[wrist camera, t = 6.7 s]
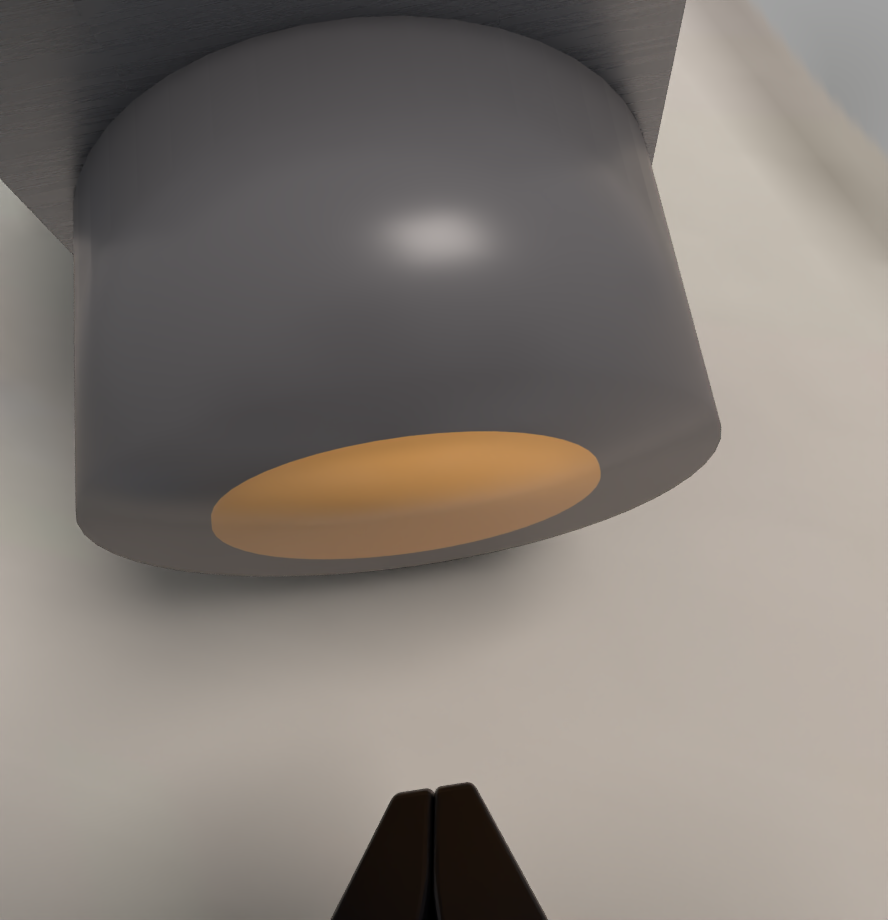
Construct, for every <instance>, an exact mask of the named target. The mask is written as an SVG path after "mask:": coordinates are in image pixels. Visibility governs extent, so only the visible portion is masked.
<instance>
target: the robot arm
mask: <svg viewBox="0 0 888 920" xmlns="http://www.w3.org/2000/svg"><path fill="white" fill-rule="evenodd" d="M331 920H548V919H547V917H546V915H545V913H544V911H543V910H542V908H541V906H540V904H539V902H538V900H537V899H536V897H535V895H534V893H533V891H532V889H531V888H530V886H529V884H528V882H527V880H526V878H525V876H524V875H523V873H522V871H521V869H520V867H519V865H518V864H517V862H516V860H515V858H514V856H513V854H512V853H511V851H510V849H509V847H508V845H507V843H506V842H505V840H504V838H503V836H502V834H501V832H500V831H499V829H498V827H497V825H496V823H495V821H494V819H493V818H492V816H491V814H490V812H489V810H488V808H487V807H486V805H485V803H484V801H483V799H482V797H481V796H480V794H479V792H478V790H477V788H476V787H475V786H474V785H473V784H472V783H470V782H466V783H459V784H453V785H446V786H440V787H438V788H437V789H436V791H435V793H434V792H433V791H432V790H430V789H427V788H426V789H420V790H413V791H406V792H400V793H397V794H396V795H395V796H394V797H393V798H392V800H391V801H390V803H389V805H388V807H387V809H386V811H385V813H384V815H383V817H382V819H381V821H380V823H379V825H378V827H377V829H376V831H375V833H374V835H373V837H372V839H371V841H370V843H369V845H368V847H367V849H366V851H365V853H364V855H363V857H362V859H361V861H360V863H359V865H358V867H357V868H356V870H355V872H354V874H353V876H352V878H351V880H350V882H349V884H348V886H347V888H346V890H345V892H344V894H343V896H342V898H341V900H340V902H339V904H338V906H337V908H336V910H335V912H334V914H333V916H332V918H331Z"/></svg>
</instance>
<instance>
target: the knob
mask: <svg viewBox="0 0 888 920" xmlns="http://www.w3.org/2000/svg"><path fill="white" fill-rule="evenodd" d="M73 250H74V373H75V496H76V518H77V523H78V525H79V527H80V528H81V530H82V531H83V533H84V535H86V536H87V537H88V538H89V539H90V540H92V541H93V542H94V543H95V544H96V545H98V546H100V547H102V548H104V549H106V550H108V551H110V552H112V553H114V554H116V555H119V556H122V557H125V558H128V559H130V560H133V561H137V562H141V563H145V564H149V565H153V566H157V567H163V568H169V569H174V570H180V571H188V572H197V573H205V574H218V575H233V576H312V575H331V574H346V573H358V572H368V571H378V570H387V569H395V568H403V567H411V566H418V565H424V564H431V563H438V562H444V561H449V560H455V559H460V558H466V557H471V556H476V555H481V554H486V553H490V552H495V551H500V550H504V549H508V548H512V547H517V546H521V545H525V544H529V543H533V542H536V541H540V540H544V539H547V538H551V537H555V536H558V535H561V534H564V533H568V532H571V531H574V530H577V529H581V528H583V527H586V526H589V525H592V524H595V523H598V522H600V521H603V520H606V519H609V518H611V517H614V516H616V515H619V514H621V513H624V512H626V511H629V510H631V509H633V508H635V507H637V506H639V505H642V504H644V503H646V502H648V501H650V500H652V499H654V498H656V497H658V496H660V495H662V494H663V493H665V492H667V491H669V490H671V489H672V488H674V487H675V486H677V485H678V484H680V483H681V482H683V481H684V480H686V479H687V478H689V477H690V476H692V475H693V474H694V473H695V472H696V471H697V470H699V469H700V468H701V467H702V466H703V465H704V464H705V463H706V462H707V461H708V460H709V458H710V457H711V456H712V455H713V453H714V452H715V450H716V448H717V446H718V444H719V442H720V439H721V424H720V420H719V416H718V412H717V409H716V405H715V401H714V397H713V394H712V390H711V386H710V382H709V379H708V375H707V371H706V368H705V364H704V360H703V356H702V353H701V349H700V345H699V341H698V338H697V334H696V330H695V326H694V323H693V319H692V315H691V312H690V308H689V304H688V300H687V297H686V293H685V289H684V285H683V282H682V278H681V274H680V270H679V267H678V263H677V259H676V256H675V252H674V248H673V244H672V241H671V237H670V233H669V229H668V226H667V222H666V218H665V214H664V211H663V207H662V203H661V200H660V196H659V192H658V188H657V185H656V181H655V177H654V173H653V170H652V166H651V162H650V158H649V155H648V151H647V147H646V144H645V141H644V138H643V136H642V133H641V130H640V127H639V125H638V122H637V120H636V119H635V117H634V116H633V114H632V113H631V111H630V109H629V108H628V106H627V105H626V103H625V102H624V100H623V99H622V98H621V97H620V96H619V95H618V94H617V93H616V92H615V91H614V90H613V89H612V88H611V87H610V85H609V84H608V83H607V82H606V81H605V80H604V79H603V78H602V77H600V76H599V75H597V74H596V73H594V72H593V71H592V70H590V69H589V68H587V67H586V66H585V65H583V64H582V63H580V62H579V61H578V60H576V59H575V58H573V57H571V56H569V55H567V54H565V53H563V52H561V51H559V50H557V49H554V48H552V47H550V46H548V45H546V44H544V43H542V42H540V41H537V40H534V39H531V38H528V37H525V36H522V35H519V34H516V33H513V32H510V31H507V30H504V29H501V28H496V27H491V26H486V25H481V24H476V23H470V22H465V21H460V20H455V19H443V18H429V17H416V16H380V17H353V18H346V19H339V20H332V21H325V22H318V23H311V24H304V25H299V26H295V27H291V28H287V29H283V30H279V31H276V32H272V33H268V34H264V35H260V36H256V37H252V38H250V39H247V40H244V41H242V42H239V43H237V44H234V45H231V46H229V47H226V48H223V49H221V50H218V51H216V52H213V53H210V54H208V55H206V56H204V57H202V58H200V59H198V60H196V61H194V62H192V63H191V64H189V65H187V66H185V67H183V68H181V69H179V70H177V71H175V72H174V73H172V74H170V75H168V76H166V77H165V78H164V79H162V80H161V81H159V82H158V83H157V84H155V85H154V86H152V87H151V88H150V89H148V90H147V91H145V92H144V93H143V94H141V95H140V96H139V97H137V98H136V99H134V100H133V101H132V102H131V103H130V104H129V105H128V106H127V107H126V108H125V109H124V110H123V111H122V112H121V113H120V114H119V115H118V116H117V117H116V118H115V119H114V120H113V121H112V122H111V123H110V124H109V125H108V126H107V128H106V129H105V130H104V132H103V133H102V135H101V136H100V138H99V139H98V140H97V142H96V143H95V145H94V146H93V147H92V149H91V150H90V152H89V154H88V156H87V159H86V161H85V163H84V165H83V168H82V170H81V172H80V175H79V177H78V181H77V186H76V191H75V197H74V202H73Z"/></svg>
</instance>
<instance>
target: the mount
mask: <svg viewBox="0 0 888 920" xmlns="http://www.w3.org/2000/svg"><path fill="white" fill-rule="evenodd" d="M685 3H686V0H0V179H1V180H2V181H3V182H4V183H5V184H6V185H7V186H8V187H9V188H10V189H11V190H12V191H13V192H14V194H15V195H16V196H17V197H18V198H19V199H20V200H21V201H22V202H23V203H24V204H25V205H26V206H27V207H28V208H29V209H30V210H31V211H32V212H33V213H34V214H35V215H36V216H37V218H38V219H39V220H40V221H41V222H42V223H43V224H44V225H45V226H46V227H47V228H48V229H49V230H50V231H51V232H52V233H53V234H54V235H55V236H56V237H57V238H58V239H59V240H60V242H61V243H62V244H63V245H64V246H65V247H66V248H67V249H68V250H69V251H70V252H71V253H72V254H73V255H74V250H73V202H74V197H75V191H76V186H77V181H78V177H79V175H80V172H81V170H82V168H83V165H84V163H85V161H86V159H87V156H88V154H89V152H90V150H91V149H92V147H93V146H94V145H95V143H96V142H97V140H98V139H99V138H100V136H101V135H102V133H103V132H104V130H105V129H106V128H107V126H108V125H109V124H110V123H111V122H112V121H113V120H114V119H115V118H116V117H117V116H118V115H119V114H120V113H121V112H122V111H123V110H124V109H125V108H126V107H127V106H128V105H129V104H130V103H131V102H132V101H133V100H134V99H136V98H137V97H139V96H140V95H141V94H143V93H144V92H145V91H147V90H148V89H150V88H151V87H152V86H154V85H155V84H157V83H158V82H159V81H161V80H162V79H164V78H165V77H166V76H168V75H170V74H172V73H174V72H175V71H177V70H179V69H181V68H183V67H185V66H187V65H189V64H191V63H192V62H194V61H196V60H198V59H200V58H202V57H204V56H206V55H208V54H210V53H213V52H216V51H218V50H221V49H223V48H226V47H229V46H231V45H234V44H237V43H239V42H242V41H244V40H247V39H250V38H252V37H256V36H260V35H264V34H268V33H272V32H276V31H279V30H283V29H287V28H291V27H295V26H299V25H304V24H311V23H318V22H325V21H332V20H339V19H346V18H353V17H380V16H416V17H429V18H443V19H455V20H460V21H465V22H470V23H476V24H481V25H486V26H491V27H496V28H501V29H504V30H507V31H510V32H513V33H516V34H519V35H522V36H525V37H528V38H531V39H534V40H537V41H540V42H542V43H544V44H546V45H548V46H550V47H552V48H554V49H557V50H559V51H561V52H563V53H565V54H567V55H569V56H571V57H573V58H575V59H576V60H578V61H579V62H580V63H582V64H583V65H585V66H586V67H587V68H589V69H590V70H592V71H593V72H594V73H596V74H597V75H599V76H600V77H602V78H603V79H604V80H605V81H606V82H607V83H608V84H609V85H610V87H611V88H612V89H613V90H614V91H615V92H616V93H617V94H618V95H619V96H620V97H621V98H622V99H623V100H624V102H625V103H626V105H627V106H628V108H629V109H630V111H631V113H632V114H633V116H634V117H635V119H636V120H637V122H638V125H639V127H640V130H641V133H642V136H643V138H644V141H645V144H646V147H647V151H648V155H649V158H650V162H651V166H652V162H653V157H654V152H655V147H656V143H657V138H658V133H659V128H660V123H661V119H662V114H663V109H664V104H665V99H666V95H667V90H668V85H669V80H670V75H671V71H672V66H673V61H674V56H675V51H676V47H677V42H678V37H679V32H680V27H681V23H682V18H683V13H684V8H685Z"/></svg>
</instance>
